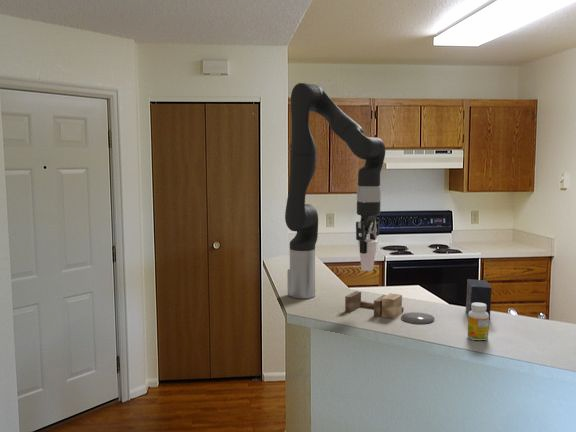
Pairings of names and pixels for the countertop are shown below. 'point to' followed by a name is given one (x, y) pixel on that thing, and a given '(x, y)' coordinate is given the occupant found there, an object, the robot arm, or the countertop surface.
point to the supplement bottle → (478, 322)
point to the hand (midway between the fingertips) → (367, 251)
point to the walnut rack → (376, 304)
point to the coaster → (417, 318)
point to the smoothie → (368, 255)
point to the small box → (478, 294)
